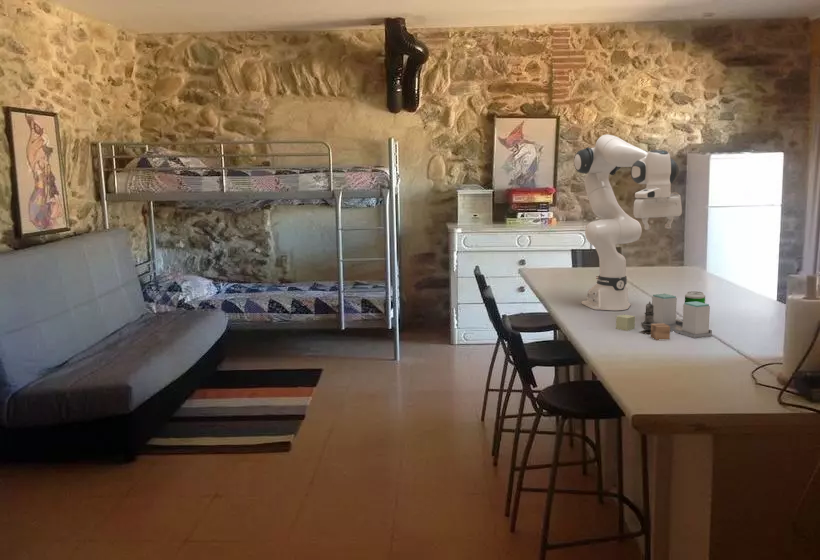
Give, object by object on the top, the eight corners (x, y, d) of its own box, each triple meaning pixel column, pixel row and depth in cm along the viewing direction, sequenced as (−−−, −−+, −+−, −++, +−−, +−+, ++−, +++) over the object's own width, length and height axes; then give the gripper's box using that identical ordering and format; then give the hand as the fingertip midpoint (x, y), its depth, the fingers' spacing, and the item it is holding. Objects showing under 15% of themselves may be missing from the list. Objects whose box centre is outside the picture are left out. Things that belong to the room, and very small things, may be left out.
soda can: (691, 325, 295) (692, 294, 294) (680, 321, 303) (681, 291, 301) (708, 323, 297) (709, 293, 296) (696, 319, 305) (697, 290, 303)
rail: (648, 323, 299) (648, 318, 298) (665, 322, 301) (665, 316, 301) (694, 338, 274) (694, 332, 274) (711, 335, 277) (711, 330, 277)
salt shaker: (653, 330, 287) (654, 299, 285) (659, 334, 282) (660, 302, 280) (638, 331, 287) (639, 300, 285) (643, 334, 281) (644, 302, 280)
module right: (682, 330, 282) (683, 302, 280) (695, 328, 284) (696, 301, 282) (695, 334, 275) (696, 305, 273) (708, 332, 277) (709, 304, 275)
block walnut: (650, 337, 278) (651, 323, 277) (663, 336, 278) (664, 323, 277) (656, 340, 273) (656, 326, 272) (669, 339, 273) (670, 326, 272)
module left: (651, 321, 298) (652, 294, 297) (663, 319, 300) (664, 293, 299) (663, 324, 292) (663, 297, 290) (675, 323, 294) (676, 296, 292)
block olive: (616, 328, 292) (616, 316, 291) (623, 326, 295) (623, 314, 294) (627, 331, 288) (627, 318, 287) (634, 328, 291) (635, 316, 290)
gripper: (674, 191, 294) (674, 227, 296) (631, 193, 287) (630, 229, 289) (686, 192, 288) (685, 228, 290) (641, 193, 281) (641, 230, 283)
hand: (657, 229), depth 289 cm, fingers open, 8 cm apart
